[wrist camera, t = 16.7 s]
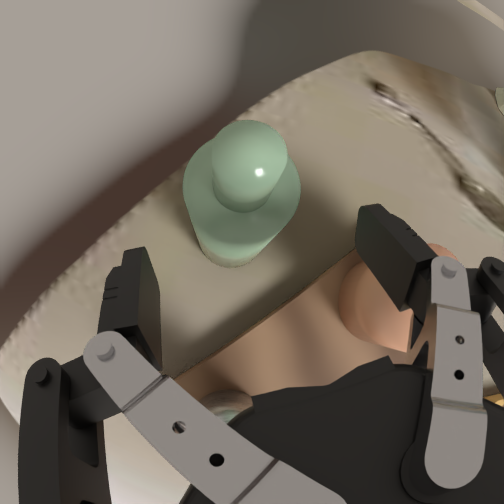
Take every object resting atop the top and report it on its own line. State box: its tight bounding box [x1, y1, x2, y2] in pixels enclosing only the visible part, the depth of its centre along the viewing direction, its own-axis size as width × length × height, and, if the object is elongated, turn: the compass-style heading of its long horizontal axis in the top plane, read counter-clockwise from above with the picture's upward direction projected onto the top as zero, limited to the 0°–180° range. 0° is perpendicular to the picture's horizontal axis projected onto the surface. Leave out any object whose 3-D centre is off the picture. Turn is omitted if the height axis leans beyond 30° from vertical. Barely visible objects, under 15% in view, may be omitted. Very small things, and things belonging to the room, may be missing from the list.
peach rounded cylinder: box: [338, 244, 458, 352], centre depth 19 cm, size 6×6×7 cm
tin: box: [199, 389, 253, 424], centre depth 17 cm, size 5×5×6 cm
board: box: [174, 248, 406, 402], centre depth 22 cm, size 23×15×2 cm, turn 125°
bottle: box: [183, 120, 301, 268], centre depth 16 cm, size 5×5×14 cm
